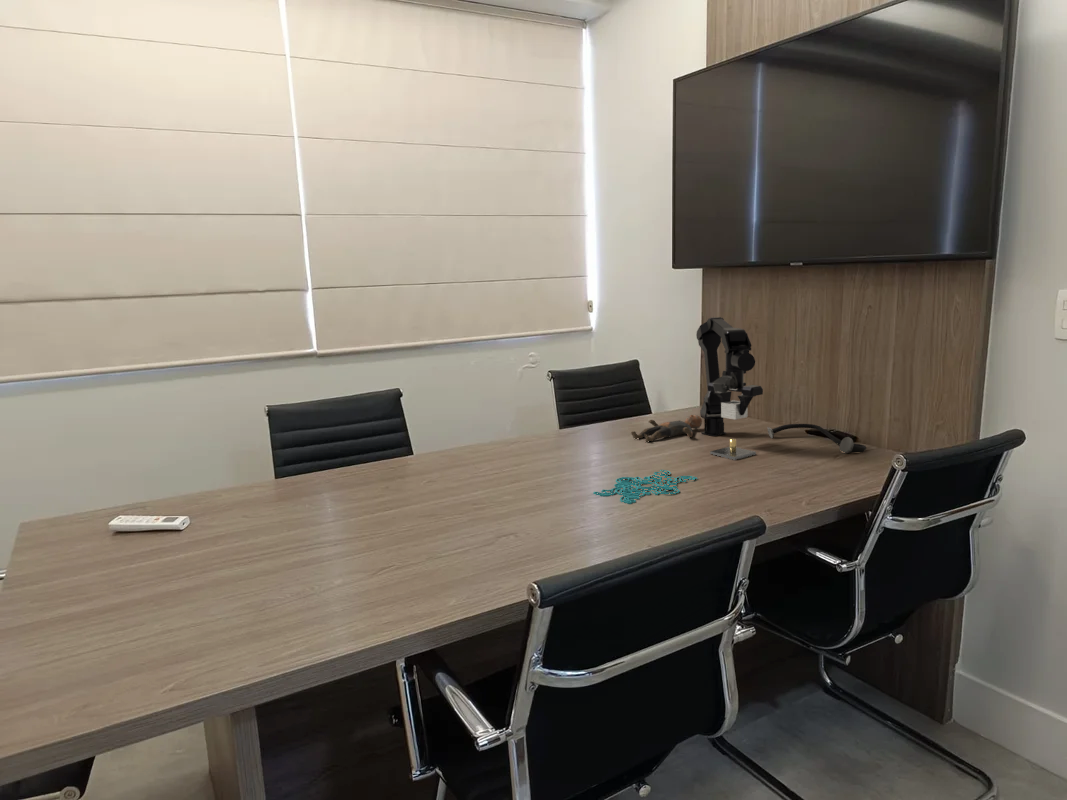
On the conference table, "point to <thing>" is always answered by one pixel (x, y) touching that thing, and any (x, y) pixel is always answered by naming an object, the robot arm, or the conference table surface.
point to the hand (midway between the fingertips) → (734, 414)
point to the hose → (845, 444)
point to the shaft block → (733, 451)
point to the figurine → (670, 428)
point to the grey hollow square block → (732, 410)
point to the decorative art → (630, 496)
